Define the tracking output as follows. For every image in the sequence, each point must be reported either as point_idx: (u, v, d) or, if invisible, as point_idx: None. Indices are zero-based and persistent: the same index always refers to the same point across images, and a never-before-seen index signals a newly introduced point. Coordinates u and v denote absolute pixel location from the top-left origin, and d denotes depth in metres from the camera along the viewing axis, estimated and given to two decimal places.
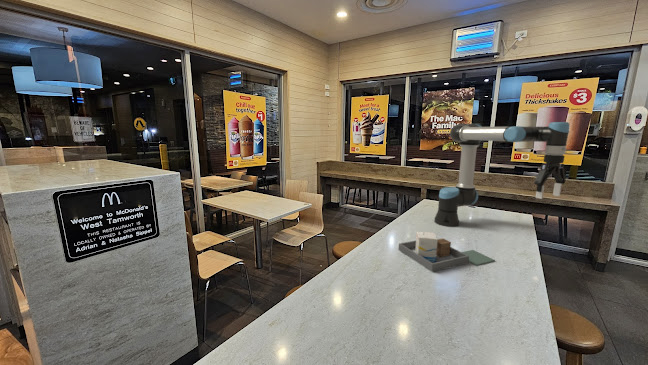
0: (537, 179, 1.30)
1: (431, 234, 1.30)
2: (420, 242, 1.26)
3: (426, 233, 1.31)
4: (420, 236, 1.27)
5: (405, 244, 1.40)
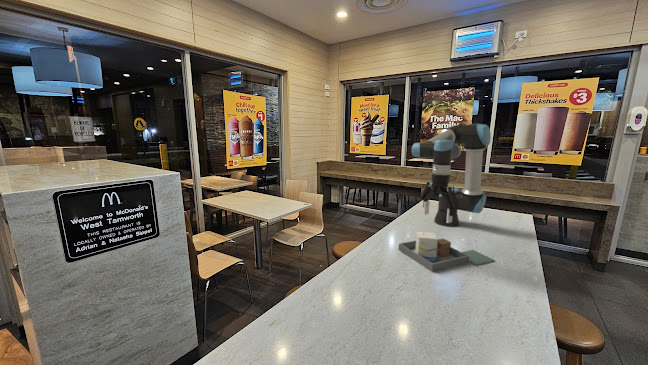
0: None
1: (431, 234, 1.30)
2: (420, 242, 1.26)
3: (426, 233, 1.31)
4: (420, 236, 1.28)
5: (405, 244, 1.40)
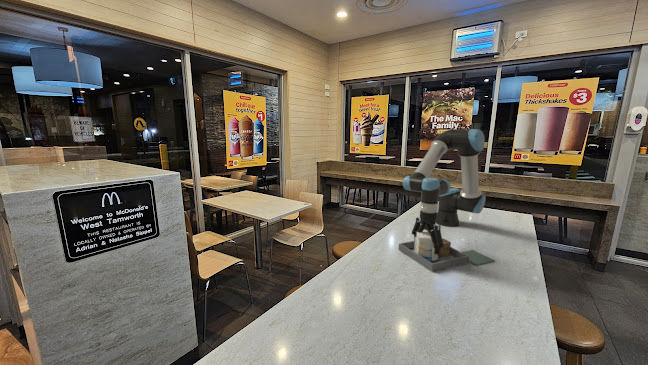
0: None
1: None
2: (420, 242, 1.26)
3: (426, 233, 1.31)
4: (420, 236, 1.27)
5: (405, 244, 1.40)
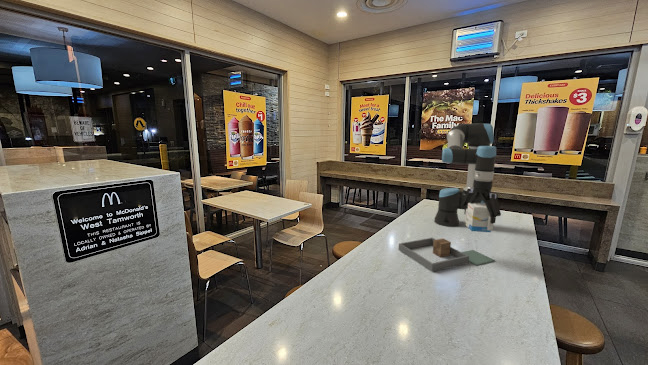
0: None
1: (484, 204, 1.27)
2: (475, 212, 1.23)
3: (479, 203, 1.28)
4: (474, 206, 1.24)
5: (405, 244, 1.40)
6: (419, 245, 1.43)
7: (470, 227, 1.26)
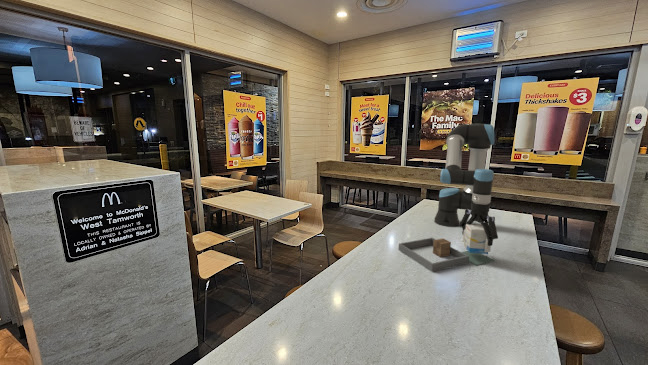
0: None
1: (482, 226, 1.29)
2: (472, 234, 1.25)
3: (476, 225, 1.30)
4: (472, 228, 1.26)
5: (405, 244, 1.40)
6: (419, 245, 1.43)
7: (468, 248, 1.28)
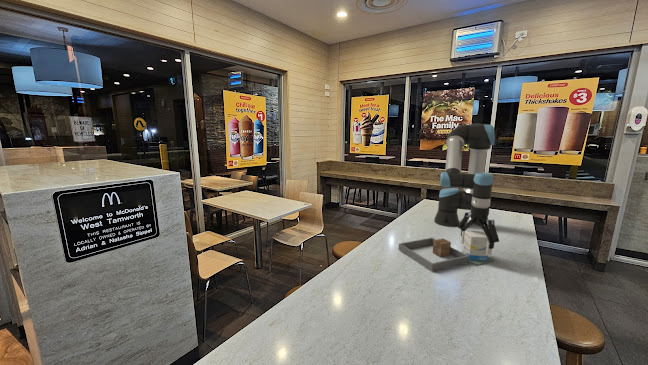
0: None
1: (481, 233, 1.30)
2: (472, 241, 1.26)
3: (475, 232, 1.31)
4: (471, 235, 1.27)
5: (405, 244, 1.40)
6: (419, 245, 1.43)
7: None
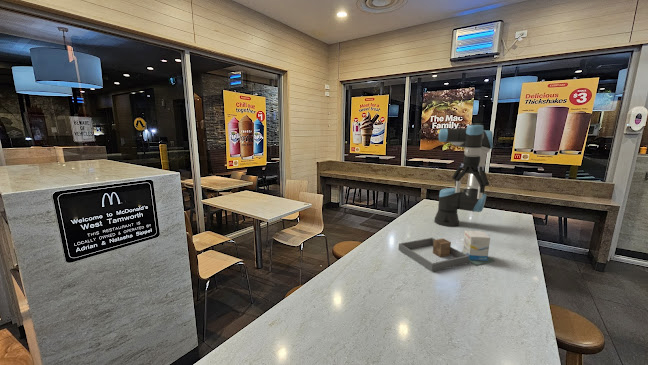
0: None
1: (481, 233, 1.30)
2: (472, 241, 1.26)
3: (475, 232, 1.31)
4: (471, 235, 1.27)
5: (405, 244, 1.40)
6: (419, 245, 1.43)
7: None
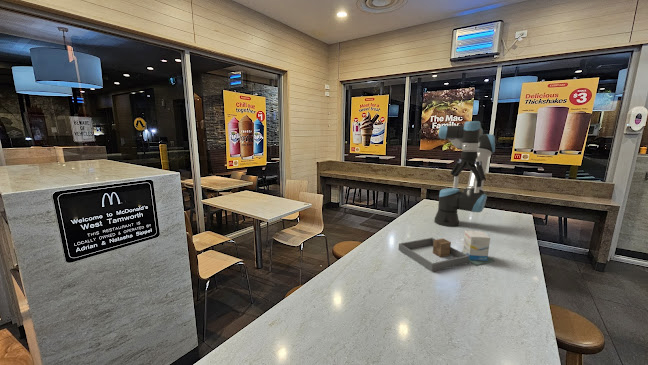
0: None
1: (481, 233, 1.30)
2: (472, 241, 1.26)
3: (475, 232, 1.31)
4: (471, 235, 1.27)
5: (405, 244, 1.40)
6: (419, 245, 1.43)
7: None
